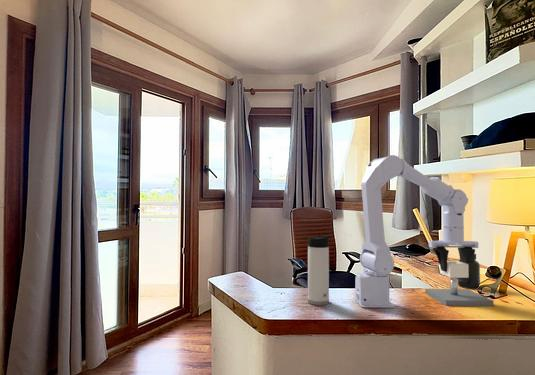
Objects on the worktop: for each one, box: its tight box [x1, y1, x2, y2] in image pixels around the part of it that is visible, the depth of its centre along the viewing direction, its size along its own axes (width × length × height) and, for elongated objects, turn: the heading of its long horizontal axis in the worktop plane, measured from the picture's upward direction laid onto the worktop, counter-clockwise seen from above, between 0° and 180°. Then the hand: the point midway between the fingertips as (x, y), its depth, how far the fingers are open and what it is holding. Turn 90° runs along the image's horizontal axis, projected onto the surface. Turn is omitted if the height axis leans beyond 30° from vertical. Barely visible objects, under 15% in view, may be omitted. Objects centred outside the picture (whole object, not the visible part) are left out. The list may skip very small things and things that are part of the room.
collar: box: [439, 260, 469, 279], centre depth 99 cm, size 6×6×4 cm
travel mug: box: [307, 234, 331, 306], centre depth 96 cm, size 6×7×20 cm
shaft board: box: [424, 277, 494, 307], centre depth 99 cm, size 14×12×6 cm
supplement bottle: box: [457, 252, 481, 290], centre depth 114 cm, size 7×7×12 cm
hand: (453, 270), depth 100 cm, fingers closed on collar, 6 cm apart
